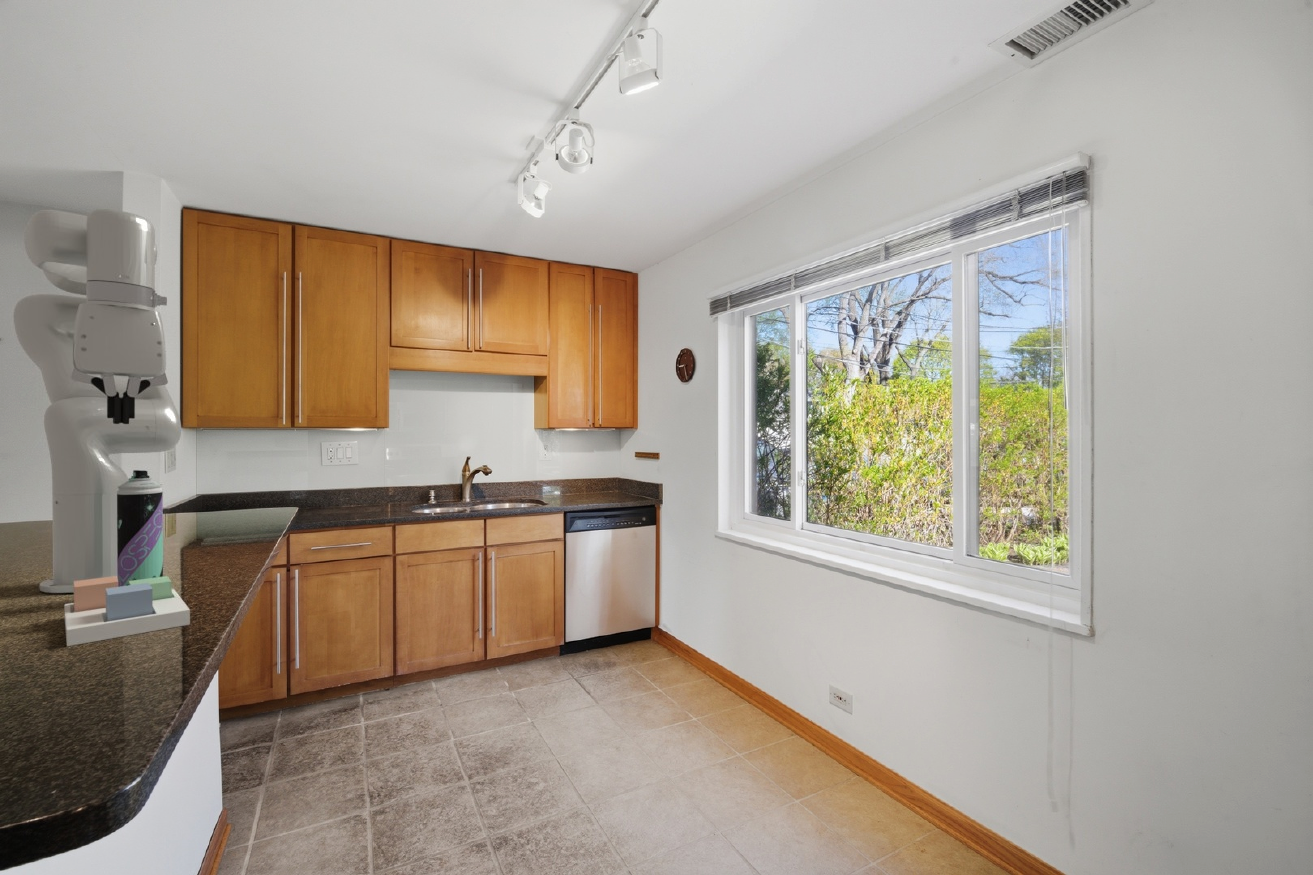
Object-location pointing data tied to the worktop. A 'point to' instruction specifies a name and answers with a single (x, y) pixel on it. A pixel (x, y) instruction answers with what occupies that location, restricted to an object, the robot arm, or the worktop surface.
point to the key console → (123, 621)
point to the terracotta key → (92, 593)
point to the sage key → (157, 587)
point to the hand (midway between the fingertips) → (120, 423)
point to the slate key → (128, 601)
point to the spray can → (139, 529)
